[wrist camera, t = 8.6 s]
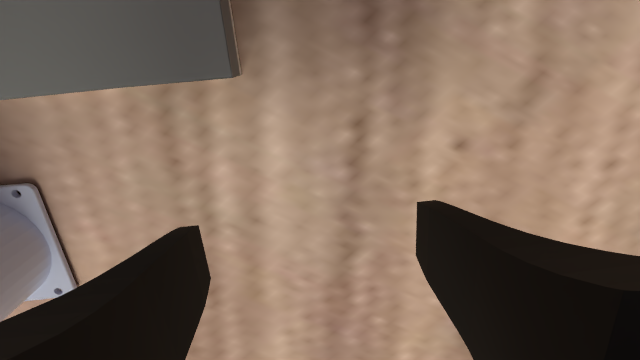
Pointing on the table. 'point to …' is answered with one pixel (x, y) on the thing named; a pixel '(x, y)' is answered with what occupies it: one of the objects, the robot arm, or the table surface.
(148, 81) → the grill press
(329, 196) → the table surface
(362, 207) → the table surface
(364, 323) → the table surface
